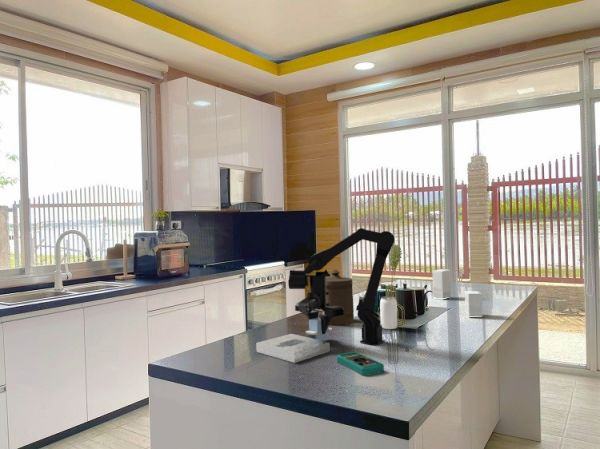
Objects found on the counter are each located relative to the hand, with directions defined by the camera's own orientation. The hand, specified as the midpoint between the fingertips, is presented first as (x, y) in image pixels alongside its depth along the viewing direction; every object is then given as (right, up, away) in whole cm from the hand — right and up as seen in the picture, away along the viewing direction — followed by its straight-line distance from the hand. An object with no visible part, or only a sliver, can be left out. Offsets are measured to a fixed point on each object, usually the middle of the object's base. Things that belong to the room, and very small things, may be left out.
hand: (319, 332), depth 159 cm
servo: (0, -3, 0) cm, 2 cm away
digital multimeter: (+11, -3, -29) cm, 31 cm away
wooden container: (+9, -3, +33) cm, 34 cm away
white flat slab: (-9, -3, -12) cm, 15 cm away
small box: (+69, -2, +36) cm, 78 cm away
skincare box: (+70, -2, +82) cm, 107 cm away
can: (+28, -3, +18) cm, 34 cm away
